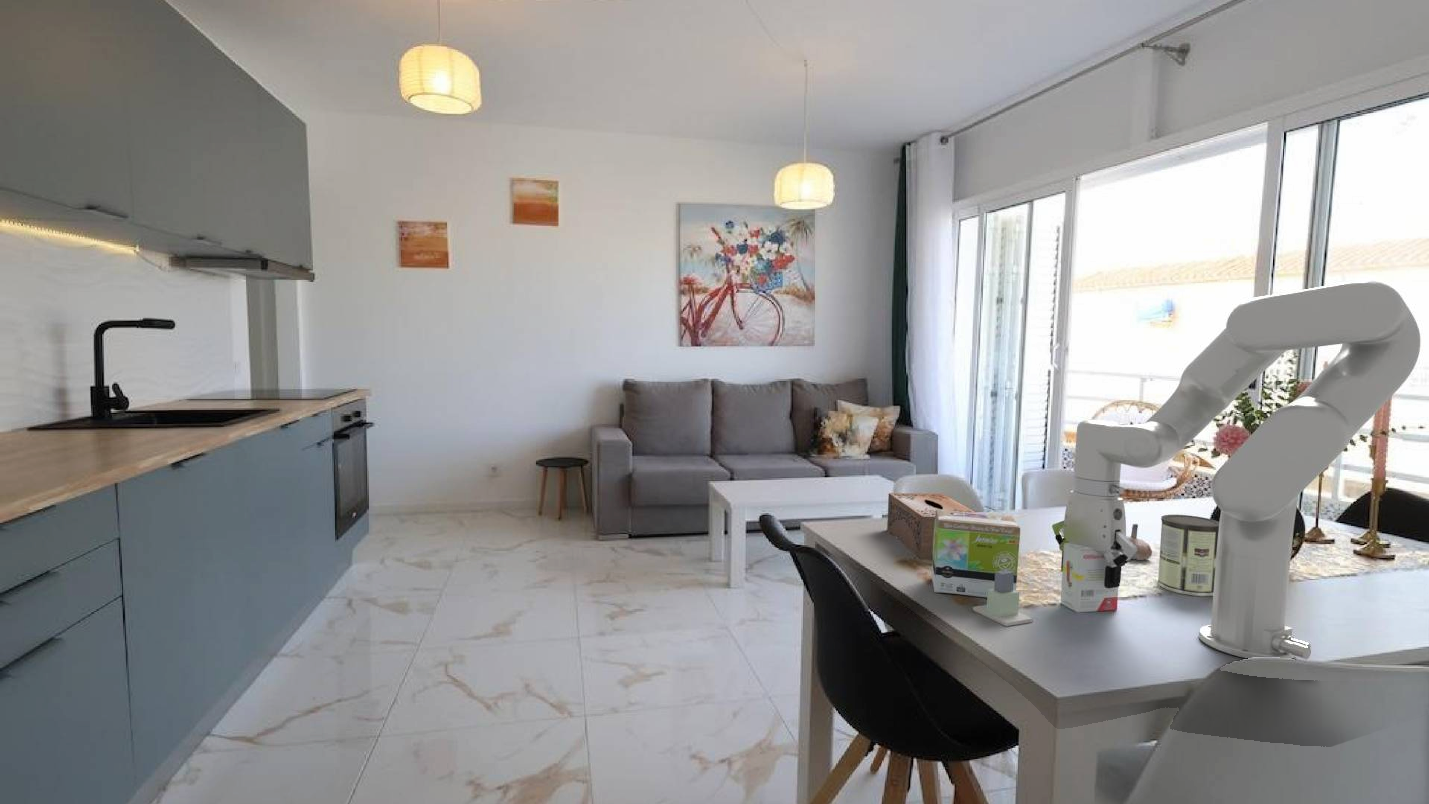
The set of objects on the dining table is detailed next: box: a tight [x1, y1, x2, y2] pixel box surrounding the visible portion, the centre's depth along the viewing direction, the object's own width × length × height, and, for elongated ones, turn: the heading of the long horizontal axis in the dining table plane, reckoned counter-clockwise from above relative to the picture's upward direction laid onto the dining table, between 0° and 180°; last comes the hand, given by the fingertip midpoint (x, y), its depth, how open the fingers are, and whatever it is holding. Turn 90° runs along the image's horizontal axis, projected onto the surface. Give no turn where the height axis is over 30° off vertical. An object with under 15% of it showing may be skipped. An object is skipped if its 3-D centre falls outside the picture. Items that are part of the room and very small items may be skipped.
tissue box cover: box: [886, 492, 978, 560], centre depth 174 cm, size 26×14×10 cm, turn 3°
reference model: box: [972, 570, 1034, 627], centre depth 127 cm, size 8×6×8 cm
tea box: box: [930, 510, 1021, 598], centre depth 141 cm, size 15×10×15 cm
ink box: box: [1060, 543, 1119, 613], centre depth 132 cm, size 9×5×12 cm, turn 99°
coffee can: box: [1157, 514, 1220, 597], centre depth 145 cm, size 10×10×14 cm
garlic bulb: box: [1120, 523, 1153, 561], centre depth 166 cm, size 8×7×8 cm
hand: (1089, 578), depth 133 cm, fingers open, 8 cm apart
